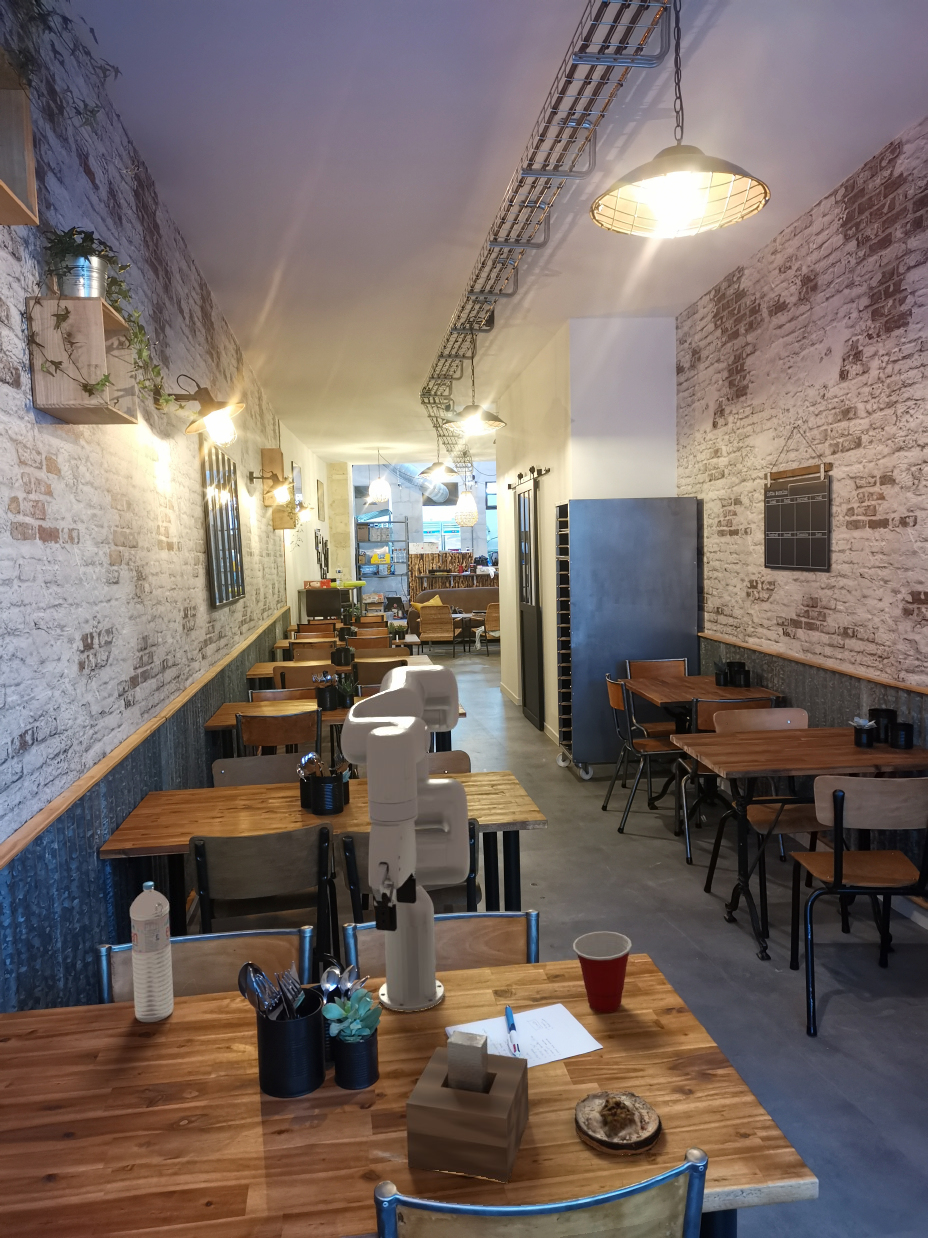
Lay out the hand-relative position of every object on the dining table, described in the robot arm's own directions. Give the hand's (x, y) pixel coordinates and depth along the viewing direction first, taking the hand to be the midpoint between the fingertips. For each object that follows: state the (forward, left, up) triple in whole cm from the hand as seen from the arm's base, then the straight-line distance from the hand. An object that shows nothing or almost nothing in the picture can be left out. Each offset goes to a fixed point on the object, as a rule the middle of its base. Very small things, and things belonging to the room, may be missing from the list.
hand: (396, 915), depth 130 cm
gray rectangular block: (+9, +13, -23) cm, 28 cm away
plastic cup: (-33, +28, -28) cm, 52 cm away
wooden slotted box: (+9, +14, -28) cm, 32 cm away
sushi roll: (+1, +34, -29) cm, 44 cm away
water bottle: (-11, -53, -28) cm, 62 cm away
